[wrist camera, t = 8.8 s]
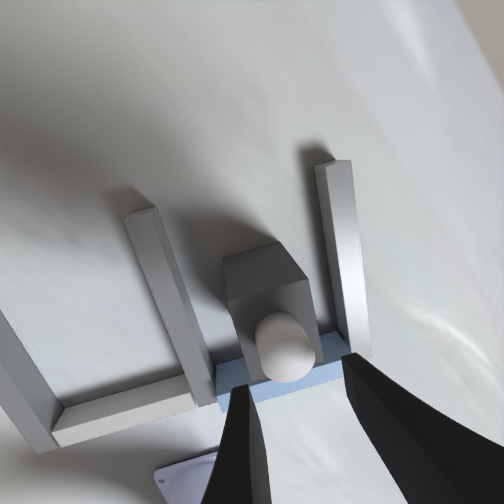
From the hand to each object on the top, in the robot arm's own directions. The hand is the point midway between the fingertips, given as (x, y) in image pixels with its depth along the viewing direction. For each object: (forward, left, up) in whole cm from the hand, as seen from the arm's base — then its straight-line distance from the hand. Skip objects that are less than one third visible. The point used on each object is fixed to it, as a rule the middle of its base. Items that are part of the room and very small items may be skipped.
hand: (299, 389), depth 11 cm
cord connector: (0, 0, -10) cm, 10 cm away
